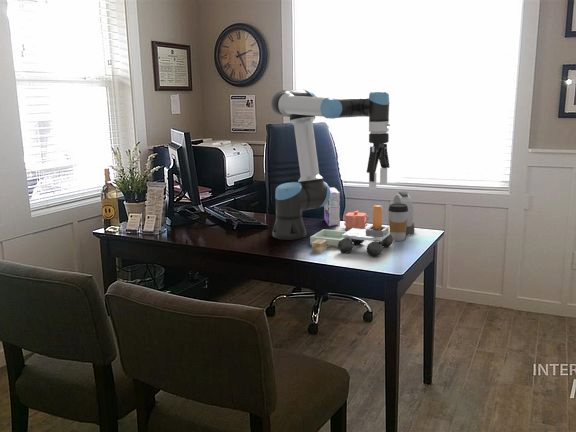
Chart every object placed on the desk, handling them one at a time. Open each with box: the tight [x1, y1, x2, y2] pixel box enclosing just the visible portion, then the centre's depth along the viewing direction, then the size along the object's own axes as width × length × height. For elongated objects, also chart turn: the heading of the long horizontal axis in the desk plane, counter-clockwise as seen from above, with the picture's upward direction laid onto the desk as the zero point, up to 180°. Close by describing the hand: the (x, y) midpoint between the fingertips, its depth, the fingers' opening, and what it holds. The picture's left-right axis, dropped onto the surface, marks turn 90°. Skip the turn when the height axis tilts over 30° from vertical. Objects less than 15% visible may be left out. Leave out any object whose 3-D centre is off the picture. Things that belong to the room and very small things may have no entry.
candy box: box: [323, 187, 341, 227], centre depth 267 cm, size 14×6×16 cm, turn 5°
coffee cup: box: [388, 203, 408, 242], centre depth 235 cm, size 8×8×15 cm
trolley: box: [337, 224, 394, 258], centre depth 221 cm, size 18×16×9 cm
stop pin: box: [372, 205, 383, 230], centre depth 219 cm, size 4×4×11 cm
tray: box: [309, 228, 351, 249], centre depth 234 cm, size 14×14×4 cm
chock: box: [311, 239, 328, 254], centre depth 222 cm, size 4×6×4 cm, turn 153°
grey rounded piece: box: [392, 191, 415, 236], centre depth 248 cm, size 16×10×18 cm, turn 4°
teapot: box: [342, 210, 369, 231], centre depth 255 cm, size 12×15×8 cm
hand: (378, 186), depth 216 cm, fingers open, 13 cm apart
